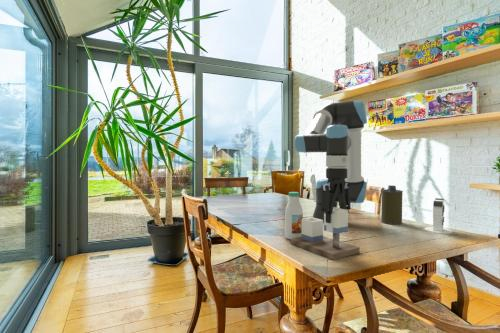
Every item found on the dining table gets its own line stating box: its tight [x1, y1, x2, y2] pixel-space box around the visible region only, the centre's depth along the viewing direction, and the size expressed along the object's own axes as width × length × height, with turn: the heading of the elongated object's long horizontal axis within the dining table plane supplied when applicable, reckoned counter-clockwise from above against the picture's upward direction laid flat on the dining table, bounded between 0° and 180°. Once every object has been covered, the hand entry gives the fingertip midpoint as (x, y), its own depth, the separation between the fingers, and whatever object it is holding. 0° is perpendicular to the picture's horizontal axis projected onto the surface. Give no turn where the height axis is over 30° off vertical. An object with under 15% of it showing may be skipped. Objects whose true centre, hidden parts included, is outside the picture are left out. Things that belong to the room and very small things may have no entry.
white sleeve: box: [323, 207, 349, 235], centre depth 104 cm, size 6×6×8 cm
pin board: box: [290, 233, 361, 261], centre depth 110 cm, size 22×14×7 cm, turn 33°
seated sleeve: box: [302, 217, 324, 242], centre depth 115 cm, size 6×6×8 cm
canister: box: [380, 185, 404, 226], centre depth 153 cm, size 11×10×20 cm
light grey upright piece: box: [423, 197, 453, 235], centre depth 136 cm, size 12×11×15 cm
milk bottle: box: [284, 191, 304, 240], centre depth 124 cm, size 8×8×20 cm
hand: (336, 230), depth 104 cm, fingers closed on white sleeve, 6 cm apart
